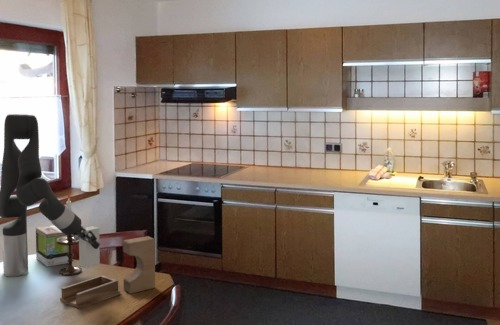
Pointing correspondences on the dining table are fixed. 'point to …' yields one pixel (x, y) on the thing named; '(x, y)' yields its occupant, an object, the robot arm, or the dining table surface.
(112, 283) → the tray
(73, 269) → the candlestick
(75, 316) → the dining table surface
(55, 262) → the tea box
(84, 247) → the white rectangular block
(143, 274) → the decorative block
